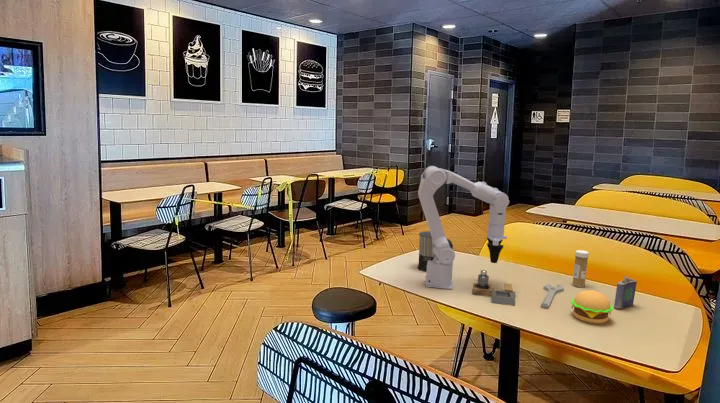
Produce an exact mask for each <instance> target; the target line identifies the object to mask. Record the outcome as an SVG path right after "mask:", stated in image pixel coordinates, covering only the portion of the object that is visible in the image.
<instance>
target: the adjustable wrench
mask: <svg viewBox="0 0 720 403" xmlns="http://www.w3.org/2000/svg"><path fill="white" fill-rule="evenodd" d="M542 289H543V290H544V291H546V292H547V293H546V295H545V296H544V297H543V300H542V301H541V303H540V308H541V309H544V310H548V309H550V306H551V304H552V302H553V300H554V297H555V295H556V294H559V293H562V292H564V291H565V288H564V286H563V285H562V284H557V286H552V284H551V283H545V285H543V288H542Z"/></svg>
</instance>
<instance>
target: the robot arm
mask: <svg viewBox="0 0 720 403" xmlns="http://www.w3.org/2000/svg"><path fill="white" fill-rule="evenodd" d="M420 177H421V178H420V183H419V187H418V191H417V196H418V199H419V201H420V204H421V208H422V211H423V214H424V217H425V220H426V223H427V227H428V229H429V231H430V233H431V236H432V242H433V253H434V255H435V257H434V259H433V261H428V262H427V271H425V272H426V273H425V287H427V288H434V289H435V288H436V289H445V290H452V289H453V285H454V281H453V280H452V279H453V266H454V263H453V262H454V260H455V258H456V253H455V250H454V248H453V249H452V248H451V247H450V245H449V243H448V241H447V239H448V238H447V236H446V233H445V230H444V227H443V224H442V221H441V218H440V215H439V211H438V208H437V206H436V202H435V199H434V194H435V193H436V192H437V190H439V188H441V187H442V186H443V185H444V184H446V185H449V184H455V185H457V186H459V187H462V189H466V190H468V191H470V193H471V196H473V197H474V198H476V199H479V200H480V201H481V202H482V201H483V202H485V203H487V204H489V211H488V212H489V213H488V222H487V223H488V224H487V225H488V226H487V234H486V239H487V242H486V243H487V244H486V245H487V248H488V251H489V260H490V263H491V264H497V263H498V260H499V257H500V255H501V254H500V253H501V251H502V250H503V249H504V244H502V242H503V240H505V239H506V240H507V239H508V235H505V225H506V224H505V223H506V213H507V212H506V211H507V207H508V206H509V204H510V200H509V196H508V195H507V193H505V192H502V191H501V190H499V188H497V187H493V186H490V185H488V184H487V182H486V181H477V182H474V181H471V180H469V179H467V178H465V177H463V176H462V175H459V174H457V173H455V172H453V171H451V170H447V169H444V168H441V167H440V168H439V167H437V166H435V165H429V166H428V167H426V168H425V169H424V171H423V172H422V174H421V176H420Z"/></svg>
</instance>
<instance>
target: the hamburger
mask: <svg viewBox="0 0 720 403" xmlns="http://www.w3.org/2000/svg"><path fill="white" fill-rule="evenodd" d="M570 303H571V309H572V313H573V316H574V317H575V318H577V319H578V320H580V321H582V322H584V323H590V324H604V323H606V322H607V321H608V320H609V316H611V315H612V311H613V310H614V306H613V305H612V304H611V302H610V299H609V298H608V297H607V296H606V295H605V294H603V293H602V292H598V291H597V290H588V289H587V290H583V291H580V292H578V293H577V294H576V295H575V296H574V298H572V299H571V300H570Z"/></svg>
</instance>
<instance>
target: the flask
mask: <svg viewBox="0 0 720 403" xmlns="http://www.w3.org/2000/svg"><path fill="white" fill-rule="evenodd" d="M622 277H623V280H621V281H618V282H617V283H616V288H615V289H616V291H615V298H614V303H613V304H614V305H613V309H615V310H624V309H627V308H630V307H634V300H635V296H636V288H637V284H638V283H637V280H636V279H633V278H630V277H629V276H627V275H623V276H622Z"/></svg>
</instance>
